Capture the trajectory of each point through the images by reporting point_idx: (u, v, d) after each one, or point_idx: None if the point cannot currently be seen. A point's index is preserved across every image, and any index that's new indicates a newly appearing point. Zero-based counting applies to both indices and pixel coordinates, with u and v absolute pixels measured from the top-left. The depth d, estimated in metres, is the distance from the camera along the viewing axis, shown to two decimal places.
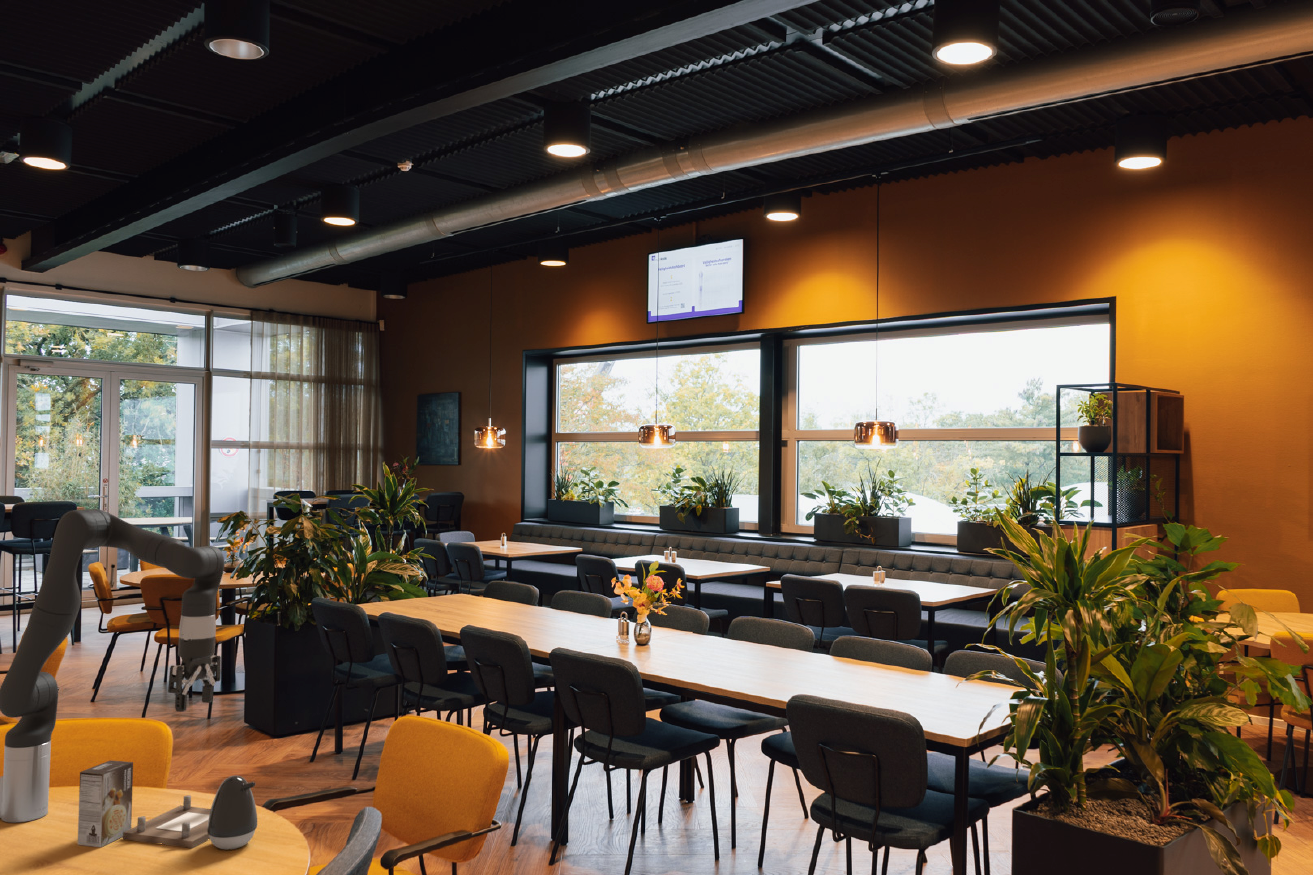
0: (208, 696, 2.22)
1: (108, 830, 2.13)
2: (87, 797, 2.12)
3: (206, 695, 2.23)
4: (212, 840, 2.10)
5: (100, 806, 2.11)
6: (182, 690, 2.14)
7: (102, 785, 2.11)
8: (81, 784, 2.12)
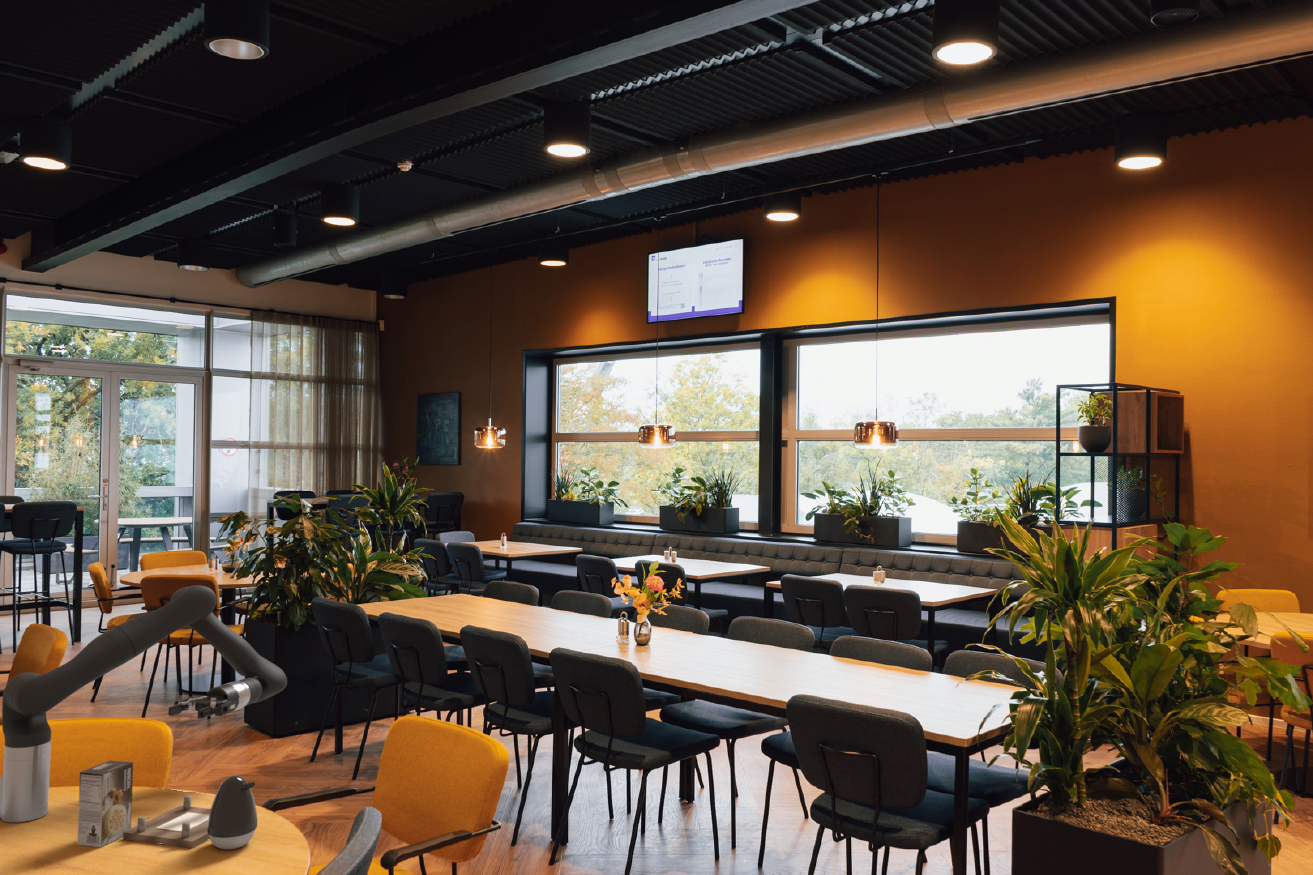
0: (174, 712, 2.42)
1: (108, 830, 2.13)
2: (87, 797, 2.12)
3: (175, 710, 2.42)
4: (212, 840, 2.10)
5: (100, 806, 2.11)
6: (215, 713, 2.43)
7: (102, 785, 2.11)
8: (81, 784, 2.12)
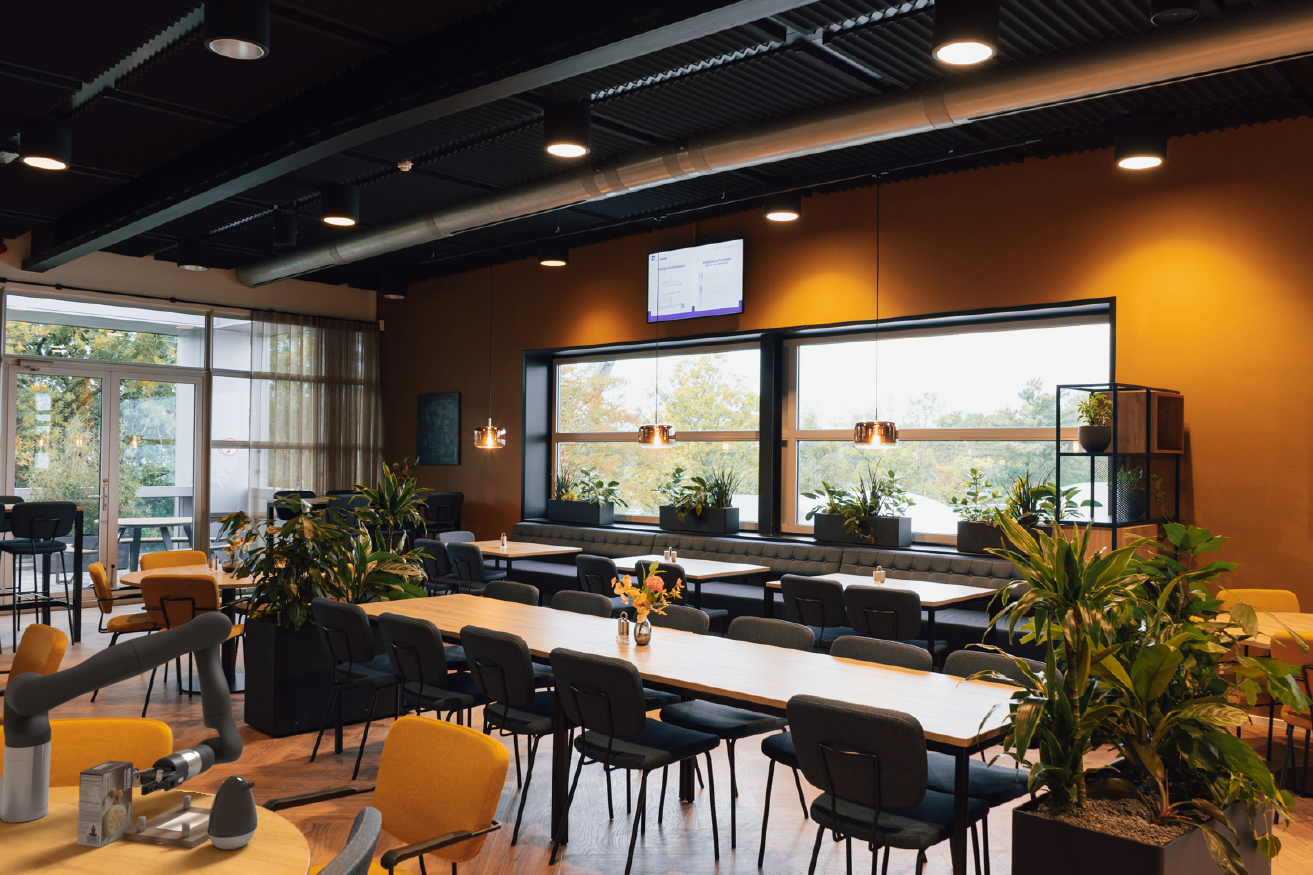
0: None
1: (108, 830, 2.13)
2: (87, 797, 2.12)
3: None
4: (212, 840, 2.10)
5: (100, 806, 2.11)
6: (161, 788, 2.25)
7: (102, 785, 2.11)
8: (81, 784, 2.12)
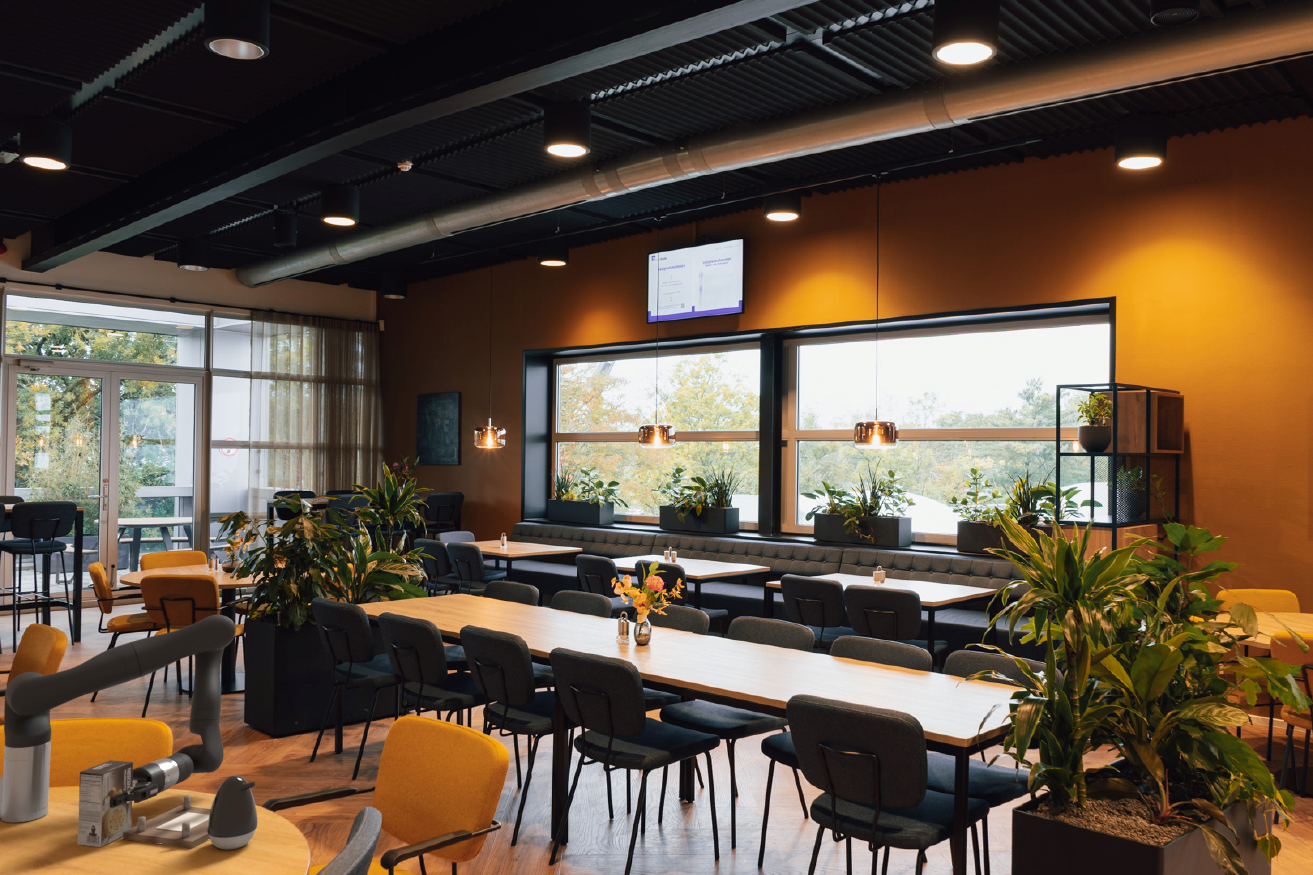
0: None
1: (108, 830, 2.13)
2: (87, 797, 2.12)
3: None
4: (212, 840, 2.10)
5: (100, 806, 2.11)
6: None
7: (102, 785, 2.11)
8: (81, 783, 2.12)
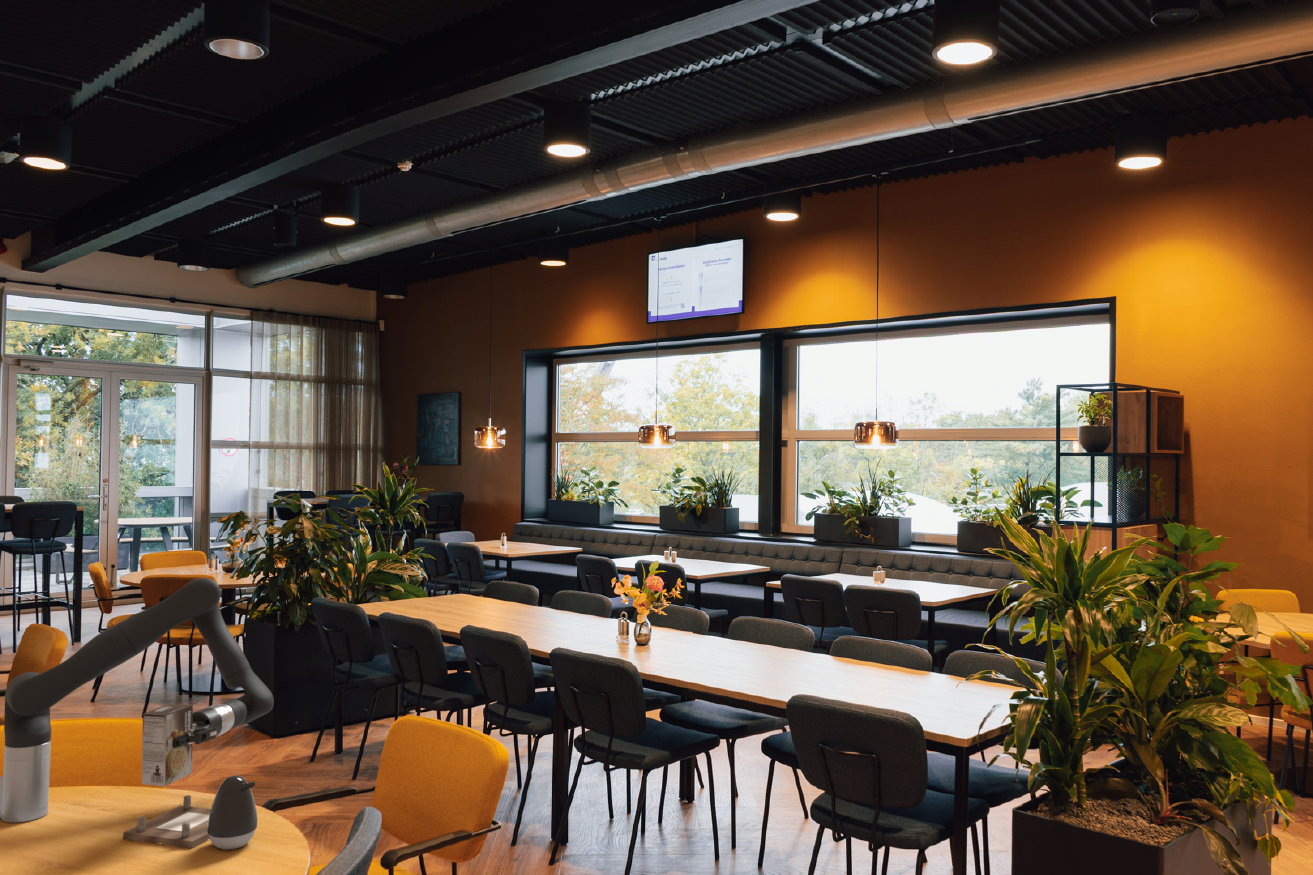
0: None
1: (171, 770, 2.18)
2: (150, 737, 2.17)
3: None
4: (212, 840, 2.10)
5: (163, 746, 2.16)
6: (192, 741, 2.23)
7: (165, 726, 2.16)
8: (144, 725, 2.17)
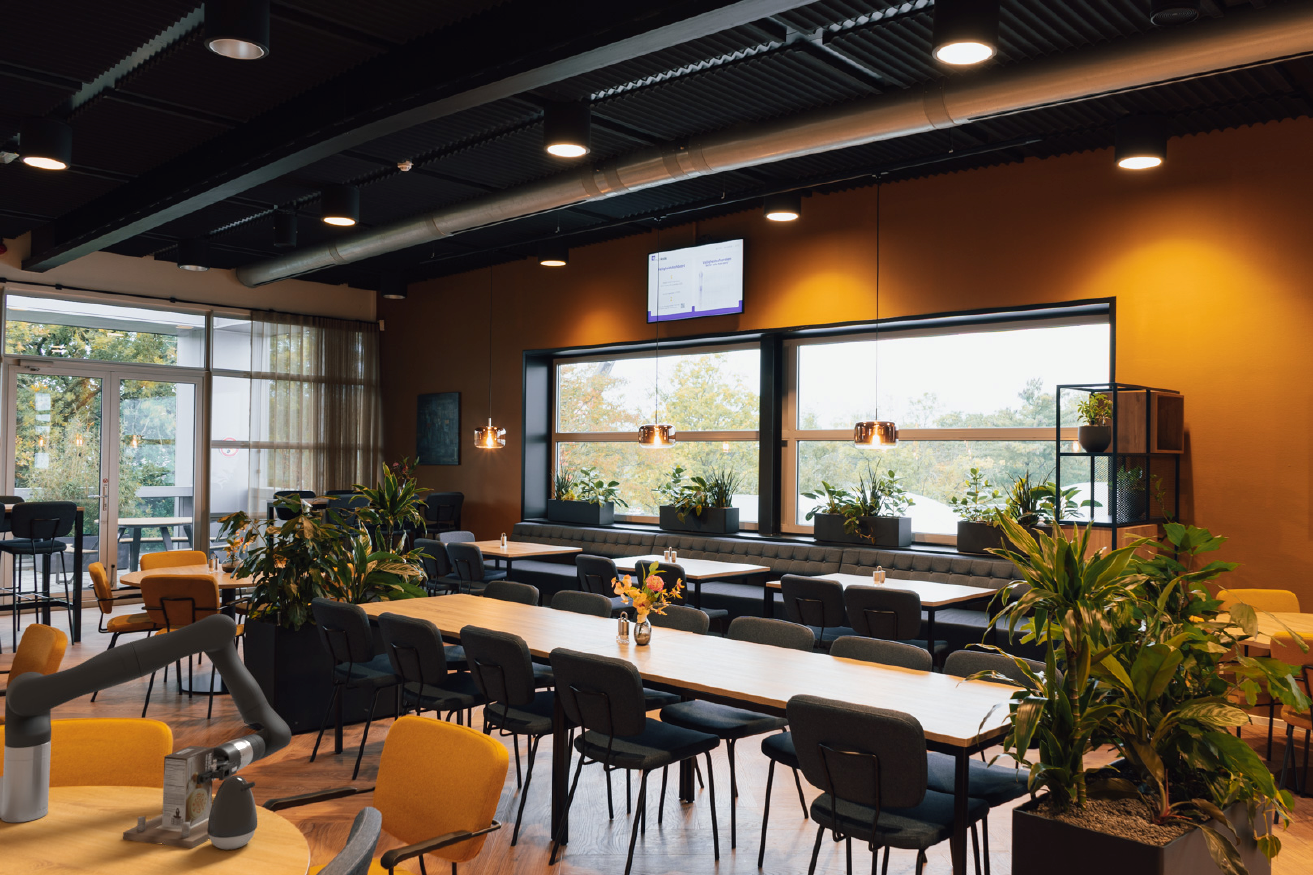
0: None
1: (191, 813, 2.19)
2: (171, 780, 2.19)
3: None
4: (212, 840, 2.10)
5: (184, 789, 2.18)
6: (215, 777, 2.24)
7: (186, 769, 2.18)
8: (166, 768, 2.19)
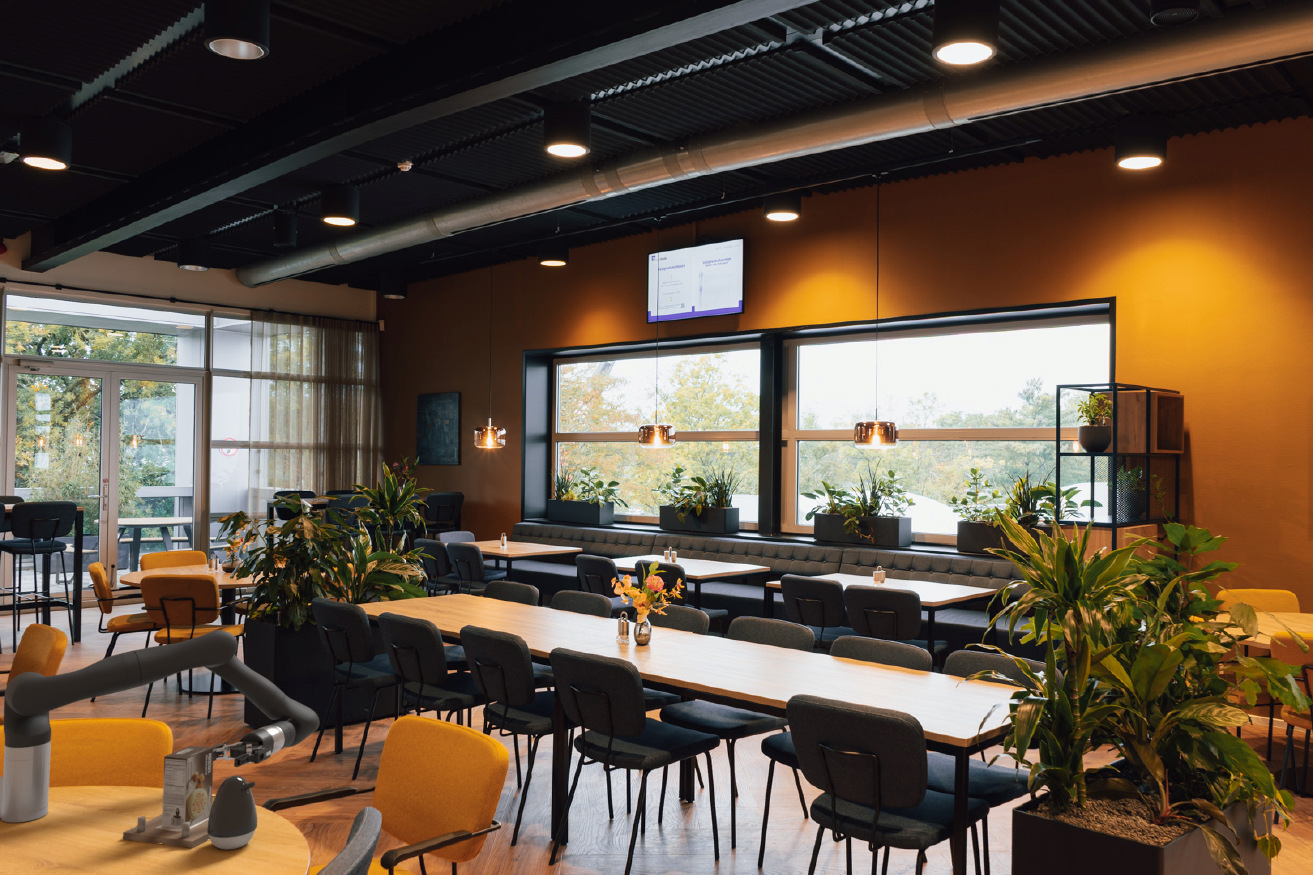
0: None
1: (191, 813, 2.19)
2: (171, 780, 2.19)
3: None
4: (212, 840, 2.10)
5: (184, 789, 2.18)
6: None
7: (186, 769, 2.18)
8: (165, 768, 2.19)
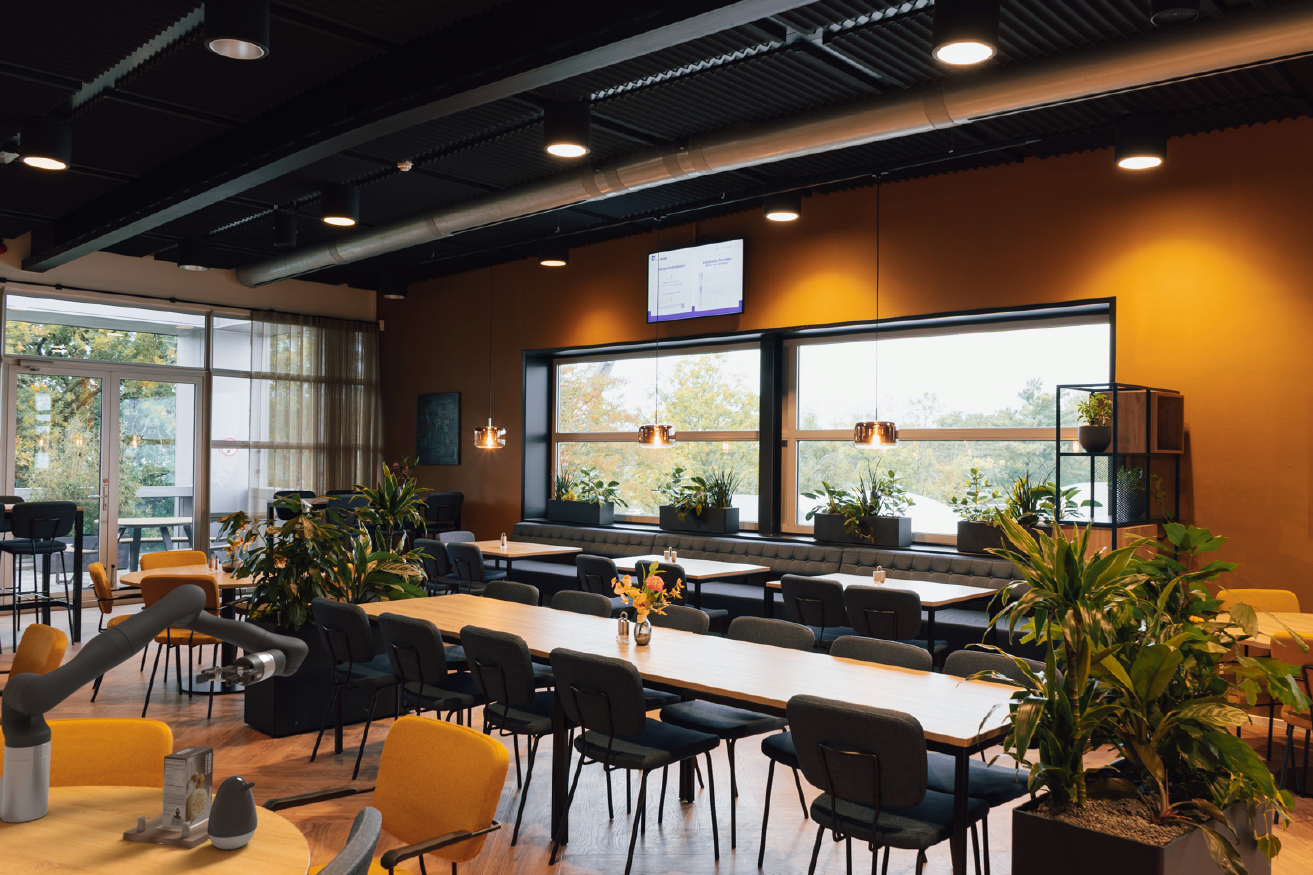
0: (202, 681, 2.43)
1: (191, 813, 2.19)
2: (171, 780, 2.19)
3: (203, 678, 2.43)
4: (212, 840, 2.10)
5: (184, 789, 2.18)
6: (242, 682, 2.44)
7: (186, 769, 2.18)
8: (165, 768, 2.19)
